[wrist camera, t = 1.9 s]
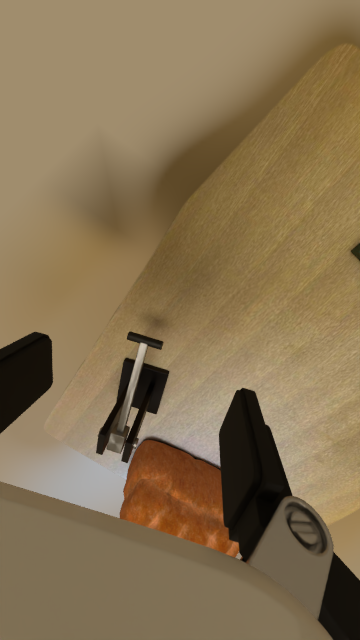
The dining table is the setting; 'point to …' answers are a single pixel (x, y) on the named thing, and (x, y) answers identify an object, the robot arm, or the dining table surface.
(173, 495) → the bread
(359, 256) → the button box
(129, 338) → the lever
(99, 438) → the bracket
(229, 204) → the dining table surface
